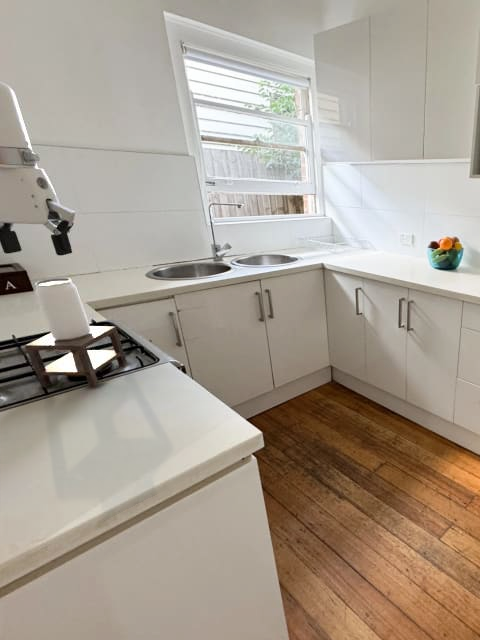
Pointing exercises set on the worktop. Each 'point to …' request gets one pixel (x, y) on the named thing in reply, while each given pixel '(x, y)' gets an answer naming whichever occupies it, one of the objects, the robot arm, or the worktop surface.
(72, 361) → the shelf
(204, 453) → the worktop surface
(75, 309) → the can
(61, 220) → the robot arm
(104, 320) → the worktop surface
